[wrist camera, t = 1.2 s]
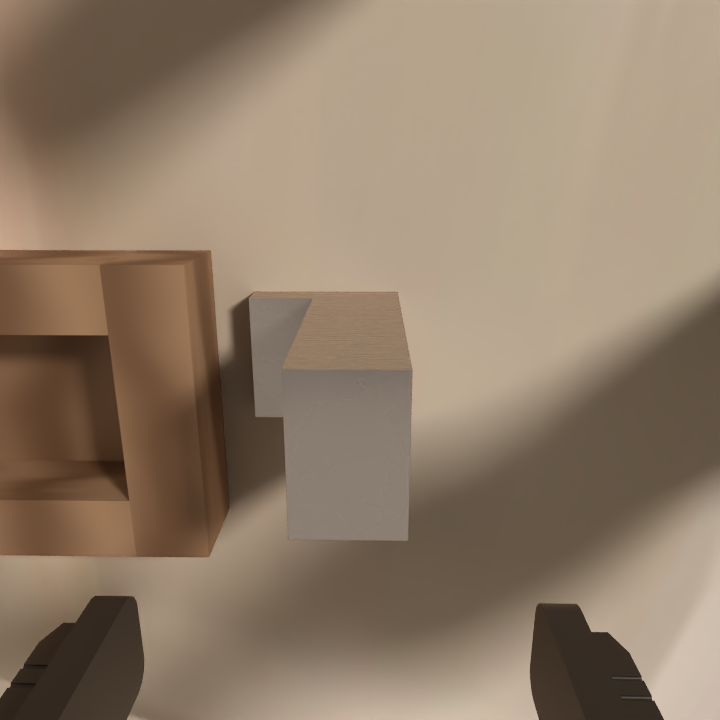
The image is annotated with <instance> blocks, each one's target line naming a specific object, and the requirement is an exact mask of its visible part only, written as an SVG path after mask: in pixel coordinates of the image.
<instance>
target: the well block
mask: <svg viewBox="0 0 720 720" xmlns="http://www.w3.org/2000/svg"><path fill="white" fill-rule="evenodd" d="M229 508H230V507H229V494H228V480H227V466H226V452H225V439H224V425H223V411H222V398H221V384H220V370H219V357H218V343H217V329H216V316H215V302H214V288H213V275H212V261H211V251H66V250H0V555H40V556H132V557H209V556H210V554H211V551H212V549H213V546H214V544H215V542H216V539H217V537H218V534H219V532H220V530H221V527H222V525H223V522H224V520H225V518H226V515H227V513H228V510H229Z"/></svg>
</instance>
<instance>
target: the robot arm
mask: <svg viewBox="0 0 720 720" xmlns="http://www.w3.org/2000/svg"><path fill="white" fill-rule="evenodd" d="M143 672H144V653H143V646H142V638H141V630H140V623H139V615H138V607H137V602H136V600H135V598H134V597H132V596H95V597H93V598H92V599H91V600H90V602H89V603H88V605H87V606H86V608H85V609H84V611H83V612H82V614H81V615H80V617H79V618H78V620H77V622H76V623H63V624H61V625H60V626H59V627H58V628H56V629H55V630H54V631H53V632H51V633H50V634H49V635H48V636H46V637H45V638H44V639H43V640H41V641H40V642H39V644H38V645H37V646H36V648H35V649H34V651H33V652H32V654H31V655H30V656H29V658H28V659H27V661H26V662H25V664H24V668H23V669H20V671H19V672H18V674H17V675H16V676H15V678H14V679H13V681H12V682H11V687H10V688H7V689H6V691H5V692H4V694H3V695H2V696H1V698H0V720H127V718H128V715H129V713H130V711H131V709H132V706H133V704H134V702H135V700H136V697H137V695H138V693H139V690H140V687H141V683H142V678H143ZM530 681H531V690H532V696H533V700H534V704H535V707H536V711H537V714H538V717H539V720H664V719H663V717H662V715H661V713H660V711H659V709H658V707H657V705H656V703H655V701H652V696H651V694H650V692H649V690H648V688H647V686H646V684H645V682H644V681H642V679H641V675H640V673H639V671H638V669H637V667H636V665H635V663H634V661H633V659H632V657H631V655H630V653H629V652H628V651H627V650H626V649H625V648H624V647H623V646H622V645H620V644H619V643H618V642H617V641H616V640H615V639H614V638H613V637H612V636H611V635H610V634H609V633H608V632H591V630H590V628H589V626H588V624H587V622H586V620H585V617H584V615H583V613H582V611H581V609H580V607H579V606H578V605H577V604H542V603H539V604H538V605H537V607H536V613H535V622H534V632H533V642H532V652H531V662H530Z"/></svg>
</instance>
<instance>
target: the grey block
mask: <svg viewBox="0 0 720 720" xmlns="http://www.w3.org/2000/svg"><path fill="white" fill-rule="evenodd" d="M249 312H250V330H251V348H252V366H253V383H254V401H255V417H283V423H284V447H285V471H286V495H287V519H288V540H374V541H408V526H409V486H410V446H411V406H412V365H411V360H410V355H409V350H408V344H407V339H406V334H405V328H404V323H403V318H402V313H401V307H400V302H399V297H398V292H254V293H253V294H252V295H251V296H250V297H249Z"/></svg>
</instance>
